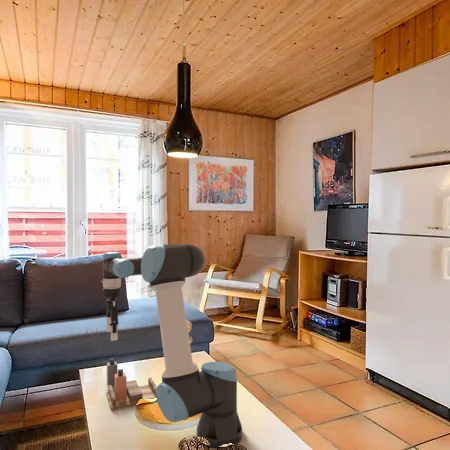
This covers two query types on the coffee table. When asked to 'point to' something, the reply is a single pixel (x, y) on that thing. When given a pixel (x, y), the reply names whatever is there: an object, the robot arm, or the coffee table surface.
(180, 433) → the coffee table surface
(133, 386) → the wooden ridged block
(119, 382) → the terracotta plug
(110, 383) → the charcoal plug
